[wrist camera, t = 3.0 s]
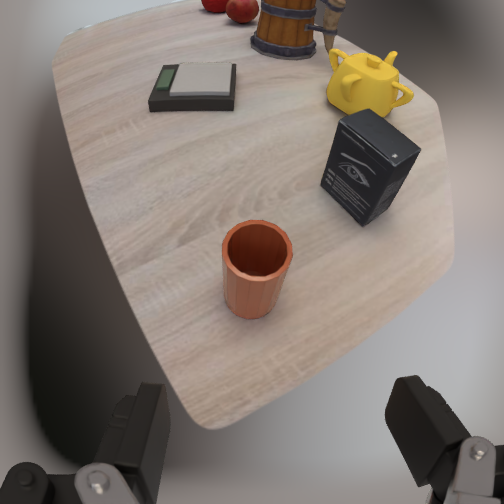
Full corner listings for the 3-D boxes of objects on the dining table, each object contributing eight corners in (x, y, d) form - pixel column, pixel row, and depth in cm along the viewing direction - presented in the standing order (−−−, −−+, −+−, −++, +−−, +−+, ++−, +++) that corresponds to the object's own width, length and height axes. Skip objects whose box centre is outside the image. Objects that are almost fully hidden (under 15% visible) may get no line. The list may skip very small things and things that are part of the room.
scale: (149, 112, 45) (147, 96, 42) (164, 74, 51) (163, 61, 48) (233, 110, 46) (233, 95, 43) (235, 73, 52) (236, 60, 49)
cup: (223, 318, 30) (220, 280, 23) (224, 269, 33) (223, 218, 25) (277, 319, 31) (294, 281, 23) (275, 270, 33) (290, 220, 25)
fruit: (263, 22, 67) (266, -11, 58) (246, 30, 63) (249, -6, 54) (236, 16, 68) (238, -16, 60) (219, 24, 65) (219, -11, 56)
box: (388, 209, 38) (425, 149, 29) (361, 229, 37) (397, 166, 27) (346, 168, 41) (370, 105, 32) (317, 184, 39) (338, 117, 30)
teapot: (318, 79, 53) (328, 32, 44) (382, 91, 53) (397, 48, 44) (327, 123, 46) (343, 67, 37) (401, 136, 46) (424, 87, 37)
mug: (347, 59, 59) (367, -19, 41) (310, 76, 53) (329, -19, 35) (278, 30, 64) (286, -42, 47) (235, 43, 58) (239, -39, 41)
